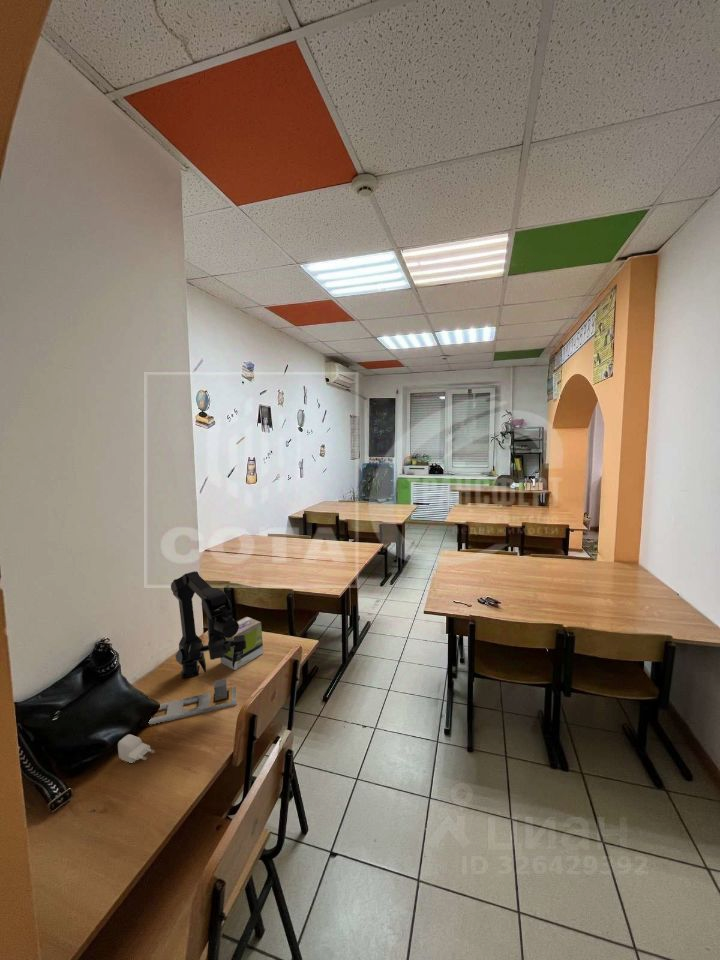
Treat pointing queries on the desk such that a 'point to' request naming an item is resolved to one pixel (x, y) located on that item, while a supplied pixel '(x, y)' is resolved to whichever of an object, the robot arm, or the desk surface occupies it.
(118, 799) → the desk surface
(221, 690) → the nut block
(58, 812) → the desk surface
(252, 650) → the tea box
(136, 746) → the power adapter
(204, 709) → the rail
